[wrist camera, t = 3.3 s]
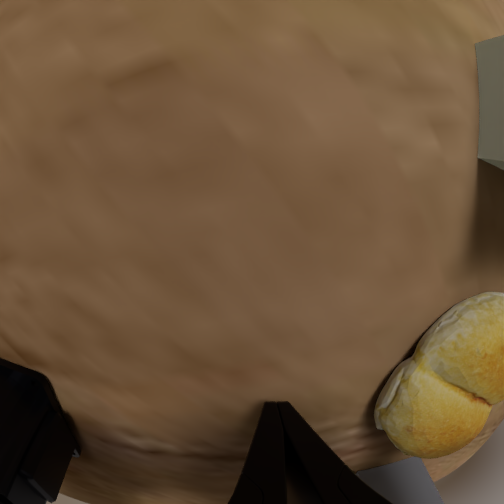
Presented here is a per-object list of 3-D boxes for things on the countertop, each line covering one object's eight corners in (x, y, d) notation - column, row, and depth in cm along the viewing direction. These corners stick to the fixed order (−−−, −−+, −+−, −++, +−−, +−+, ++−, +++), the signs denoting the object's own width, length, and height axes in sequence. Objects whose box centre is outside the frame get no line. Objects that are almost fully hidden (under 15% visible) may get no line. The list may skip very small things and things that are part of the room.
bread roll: (518, 322, 11) (558, 356, 7) (420, 433, 13) (446, 478, 9) (475, 244, 9) (546, 281, 5) (337, 406, 11) (365, 478, 7)
